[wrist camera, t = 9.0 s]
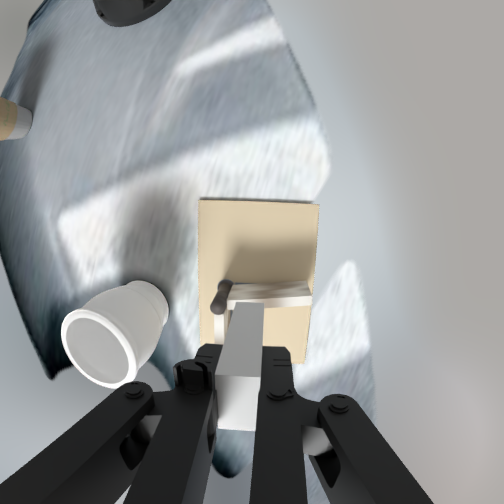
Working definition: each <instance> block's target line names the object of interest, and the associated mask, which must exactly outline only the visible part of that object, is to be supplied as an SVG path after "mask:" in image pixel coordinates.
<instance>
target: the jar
mask: <svg viewBox="0 0 504 504" xmlns="http://www.w3.org/2000/svg"><path fill="white" fill-rule="evenodd" d="M168 315H169V308H168V303H167V301H166V299H165V297H164V295H163V294H162V292H161V291H160V290H159V289H158V288H157V287H155V286H154V285H152V284H151V283H148V282H146V281H139V280H138V281H132V282H130V283H128V284H127V285H124V286H120V287H116V288H114V289H110V290H107V291H104V292H102V293H100V294H98V295H96V296H95V297H93V298H92V299H91V300H90V301H88V302H87V303H86V304H85V305H84V306H83V307H82V308H80V309H76V310H74V311H73V312H71V313H69V314H68V315H67V316H66V317H65V319H64V321H63V323H62V328H61V337H62V342H63V346H64V348H65V351H66V353H67V355H68V357H69V359H70V360H71V362H72V363H73V364H74V366H75V367H76V368H77V369H78V370H79V371H80V372H81V373H82V374H83V375H84V376H86V377H87V378H88V379H89V380H91V381H92V382H94V383H96V384H98V385H101V386H103V387H107V388H114V389H117V388H119V387H120V386H121V385H123V384H125V383H128V382H132V381H133V380H134V378H135V377H136V375H137V372H138V369H139V368H140V367H141V366H142V365H143V364H144V363H145V362H146V361H147V360H148V359H149V358H150V356H151V355H152V353H153V351H154V350H155V348H156V345H157V343H158V340H159V337H160V335H161V332H162V329H163V326H164V324H165V323H166V321H167V319H168Z"/></svg>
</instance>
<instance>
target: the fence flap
mask: <svg viewBox="0 0 504 504" xmlns="http://www.w3.org/2000/svg"><path fill="white" fill-rule="evenodd" d="M236 302H256V303H264V308H278V307H294V306H309V305H312V294H311V291H310V289H309V286H308V284H307V281H291V282H275V283H257V284H238V285H232V286H231V285H230V284H228V283H223V284H221V286H220V287H219V289H218V291H217V293H216V295H215V297H214V299H213V301H212V303H211V305H210V310H211V312H212V313H213V314H215V315H221V314H223V313H224V311H225V309H226V306H227V310H234V307H235V304H236Z"/></svg>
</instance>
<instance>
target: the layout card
mask: <svg viewBox="0 0 504 504" xmlns="http://www.w3.org/2000/svg"><path fill="white" fill-rule="evenodd" d="M318 217H319V205H316V204H301V203H281V202H257V201H222V200H198V284H199V319H200V342H201V346H203V345H204V344H205V343H209V344H215V340H214V314H213V313H212V312H211V310H210V305H211V303H212V301H213V299H214V297H215V295H216V293H217V291H218V285H219V283H220V282H221V281H223V280H229V281H231V282H232V283H233V284H234V285H238V284H257V283H275V282H291V281H307V284H308V286H309V289H310V291H311V294H313V283H314V271H315V260H316V247H317V233H318ZM310 312H311V305H309V306H294V307H278V308H264V327H263V346H284V347H286V348H287V349H288V351H289V352H290V354H291V363H292V364H304V360H305V353H306V346H307V338H308V330H309V321H310ZM232 314H233V310H230V321H231V317H232Z"/></svg>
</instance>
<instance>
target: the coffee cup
mask: <svg viewBox="0 0 504 504" xmlns="http://www.w3.org/2000/svg"><path fill="white" fill-rule="evenodd" d="M31 124H32V113H31V111H30V110H28V109H26V108H23V107H21V106H19V105H16V104H15V103H14V102H11V101H9V100H7V99H4V98H2V97H0V140H5V139H21V138H23V137H24V136H26V135H27V133H28V132H29V130H30V128H31Z"/></svg>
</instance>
